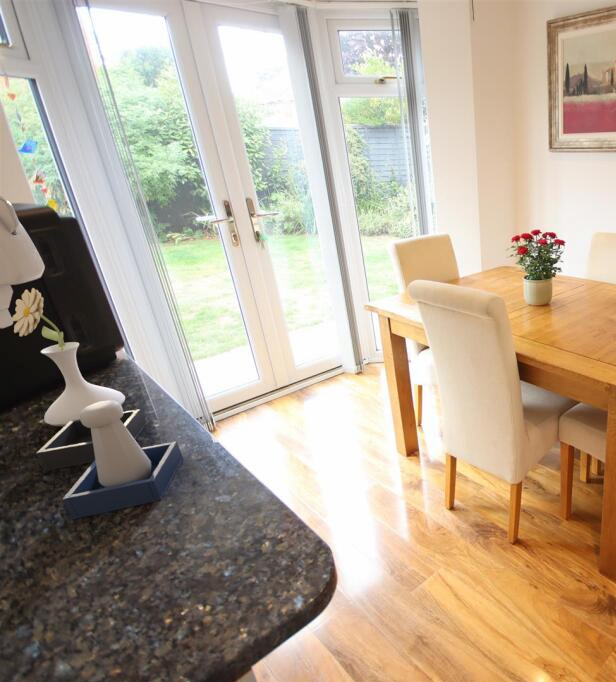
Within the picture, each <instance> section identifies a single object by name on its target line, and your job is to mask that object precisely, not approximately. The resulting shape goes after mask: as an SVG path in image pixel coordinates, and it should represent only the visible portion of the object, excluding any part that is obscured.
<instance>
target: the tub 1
mask: <svg viewBox="0 0 616 682" xmlns="http://www.w3.org/2000/svg"><path fill="white" fill-rule="evenodd" d="M120 420H121V422H122V423H123V424H124V426H125V427H126V428H127V430H128V431H129V432H130V434H131V435H132V436H133V438H134V439H135V441H136V440H137V439H138V437H139V436H140V434H141V433H142V432H143V431H144V429H145V428H146V427H147V423H146V420H145V417H144V415H143V413H142V410H141V408H138V409H133V410H126V411H123V416H122V417H121V418H120ZM35 454H36V456H37V458H38V460H39V463H40V465H41V467H42V469H43V471H44V472H48V471H49V472H50V471H54V470H60V469H64V468H69V467H75V466H80V465H86V464H90V463H91V464H92V463H93V462H94V461H95V453H94V447H93V440H92V433H91V428H88V427H86V426H84V425H83V424H82V422H81V421H80V419H77V420H71V421H70V422H69V423H67V424H66V425H65V426H62V428H61V429H60V430H59V431H58V432H57V433H56V434H55V435H53V436H52V437H51V439H49V440H48V441H47V442H46V443H45V444H44V445H43V446H42V447H41V448H40V449H39V450H38V451H36V453H35Z"/></svg>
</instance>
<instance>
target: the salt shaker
mask: <svg viewBox="0 0 616 682" xmlns="http://www.w3.org/2000/svg"><path fill="white" fill-rule="evenodd" d="M123 412H124V409H123V405H122V406H121V405H120V403H118V402H116V401H113V400H107V401H101V402H98V403H94V404H92V405H90V406H87V407H86V408H84V409H83V410H82V411H81V413H80V421H81V422H82V424H83V425H84V426H86V427H88V428H91V433H92V440H93V447H94V453H95V460H96V466H97V473H98V479H99V483H100V484H101V485H102V486H104V487H105V488H107V487H112V486H117V485H122V484H127V483H132V482H136V481H141V480H146V479H150V473H151V461H150V460H149V458H148V457H147V455H146V454H145V453H144V451H143V450H142V449H141V448H142V447H141V446H140V445H139V443H138V442H137V441H136V440H135V439H134V438H133V436H132V435H131V434H130V432H129V431H128V430H127V428H126V427H125V426H124V424H123V423H122V422H121V420H120V418H121V417H122V416H123Z"/></svg>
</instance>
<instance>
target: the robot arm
mask: <svg viewBox="0 0 616 682" xmlns="http://www.w3.org/2000/svg"><path fill="white" fill-rule="evenodd" d="M37 249H38V248H37V247H36V246H35V244H34V242H33V240H32V239H31V237H30V235H29V234H28V232H27V230H26V229H25V227H24V226H23V225H22V224H21V222H20V221H19V218H18V216H17V213H16V211H15V208H14V206H13V205H12V203H11V202H10V201H9V200H7V199H5V197H2V196H1V195H0V329H5V328H8V327H10V326H12V325H13V324H14V321H13V320H12V317H13V316H12V315H11V313H10V311H9V308H10V305H11V301H12V297H13V294H14V290H13V288H12V286H13V285H14V286H16V285H21V284H24V283H29V282H33V281H35V280H38V279H40V278H42V276H43V274H44V271H45V268H46V267H45V264H44V261H43V258H42V257H41V255H40V253H39V250H37Z"/></svg>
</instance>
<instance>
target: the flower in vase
mask: <svg viewBox="0 0 616 682" xmlns="http://www.w3.org/2000/svg"><path fill="white" fill-rule="evenodd" d="M15 305H16V306H15V309H14V310H15V314H13V315H12V316H11V317H12V320H13V322H16V323H15V324H14V326H13V328H14V329H13V332H14V334H16V333H19V335H18V336H19V337H23V336H25V337H26V336H28V335H29V334H31V333H33V331H34V330H35V329H36V328H37V326H38V324H39V323H40V321H41V320H40V319H43V320H44V321H45V322H46V323H47V324H49V325H50V326H51V327H52V328H53V329H54V330H53V329H50V328H48V327H46V326H45V325H43V326H42V329H41V335H42V336H43V338H45V339H49V340H51V341H55V342H58V344H54V345H49V346H48V347H45V348H43V349H42V350H40V353H41V354H42V355H45V356H46V357H48V358H50V359H51V360H52V361H53V362H54V363H55V365H57V367H58V369H59V370H60V372H61V374H62V376H63V378H64V382H65V388H64V390H63V392H62V393H61V394H60V396H58V397H57V398H56V400H54V401H53V402H52V404H51V405H50V406H49V407H48V409H47V411H45V413H44V419H43V420H44V422H45V423H46V424H48V425H50V426H53V427H64V426H65V425H66V424H67V423H69V422H70V421H71V420H77V419H80V413H81V411H82V410H83V409H84V408H86V407H87V406H90V405H92V404H94V403H98V402H101V401H107V400H113V401H116V402H118V403H120V405H121V406H122V407H123V404H124V403H125V400H126V396H125V395H124V394H123V393H122V392H121V391H119V390H116V389H114V388H109V387H106V386H102V385H101V386H100V385H96V384H93V383H90V382H88V381H87V380H85V379H84V377H83V376H82V373H81V371H80V369H79V366H78V365H79V364H78V361H77V351H78V348H79V347H80V343H79V342H76V341H71V342H70V341H69V342H68V341H67V342H64V332H63V331H60V330H59V328H58V327H57V326H56V324H54V323H53V322H52V321H51V320H49V319H48V318H47V317H45V316H44V315H43V313H44V310H43V308H44V297H43V296H42V293H41V292H39V290H38V289H35V288H34V287H32V288H31V291H29V290H28V289H25V290H24V292H23V293H22V294H21V299H19V298H18V299H16V301H15Z"/></svg>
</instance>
